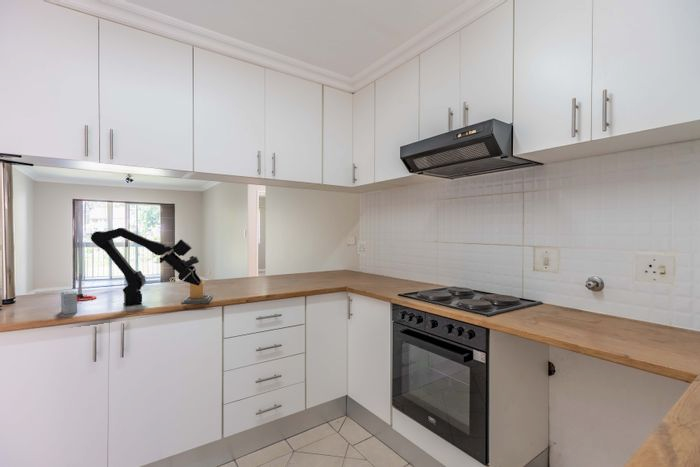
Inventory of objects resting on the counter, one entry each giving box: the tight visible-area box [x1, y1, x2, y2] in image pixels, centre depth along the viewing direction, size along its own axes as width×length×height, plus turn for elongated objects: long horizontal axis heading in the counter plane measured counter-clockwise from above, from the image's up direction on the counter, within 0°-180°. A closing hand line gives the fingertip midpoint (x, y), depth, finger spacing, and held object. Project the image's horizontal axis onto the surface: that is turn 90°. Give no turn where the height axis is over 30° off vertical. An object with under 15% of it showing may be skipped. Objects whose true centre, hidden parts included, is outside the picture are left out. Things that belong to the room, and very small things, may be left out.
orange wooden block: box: [189, 280, 206, 299], centre depth 165 cm, size 6×6×8 cm
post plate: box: [180, 294, 213, 305], centre depth 165 cm, size 12×12×5 cm
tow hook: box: [77, 273, 97, 302], centre depth 165 cm, size 8×13×9 cm
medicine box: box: [60, 290, 78, 315], centre depth 140 cm, size 8×4×9 cm, turn 48°
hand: (200, 283), depth 165 cm, fingers open, 9 cm apart
